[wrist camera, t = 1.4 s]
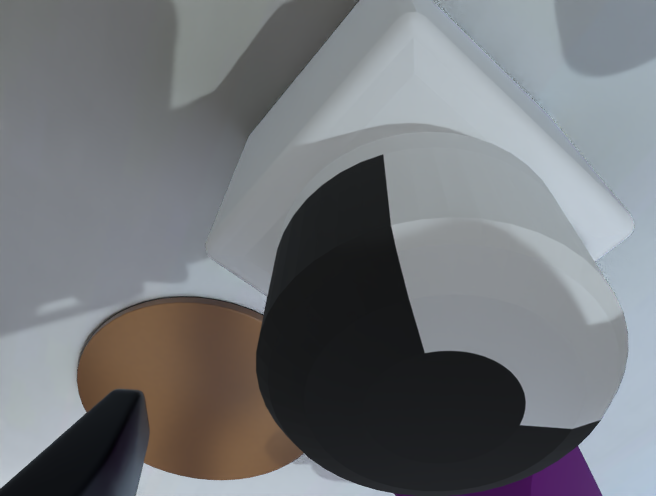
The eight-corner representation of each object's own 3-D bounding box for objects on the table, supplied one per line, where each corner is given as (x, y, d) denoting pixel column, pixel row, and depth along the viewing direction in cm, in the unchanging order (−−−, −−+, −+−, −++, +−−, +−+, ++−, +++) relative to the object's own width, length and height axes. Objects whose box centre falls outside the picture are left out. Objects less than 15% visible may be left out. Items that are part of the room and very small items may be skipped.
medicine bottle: (398, 257, 22) (438, 586, 12) (244, 139, 20) (126, 420, 9) (553, 118, 19) (787, 400, 9) (391, -41, 16) (452, 88, 6)
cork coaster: (100, 465, 29) (97, 472, 29) (58, 287, 23) (54, 293, 23) (320, 480, 29) (320, 487, 29) (335, 306, 23) (334, 312, 23)
